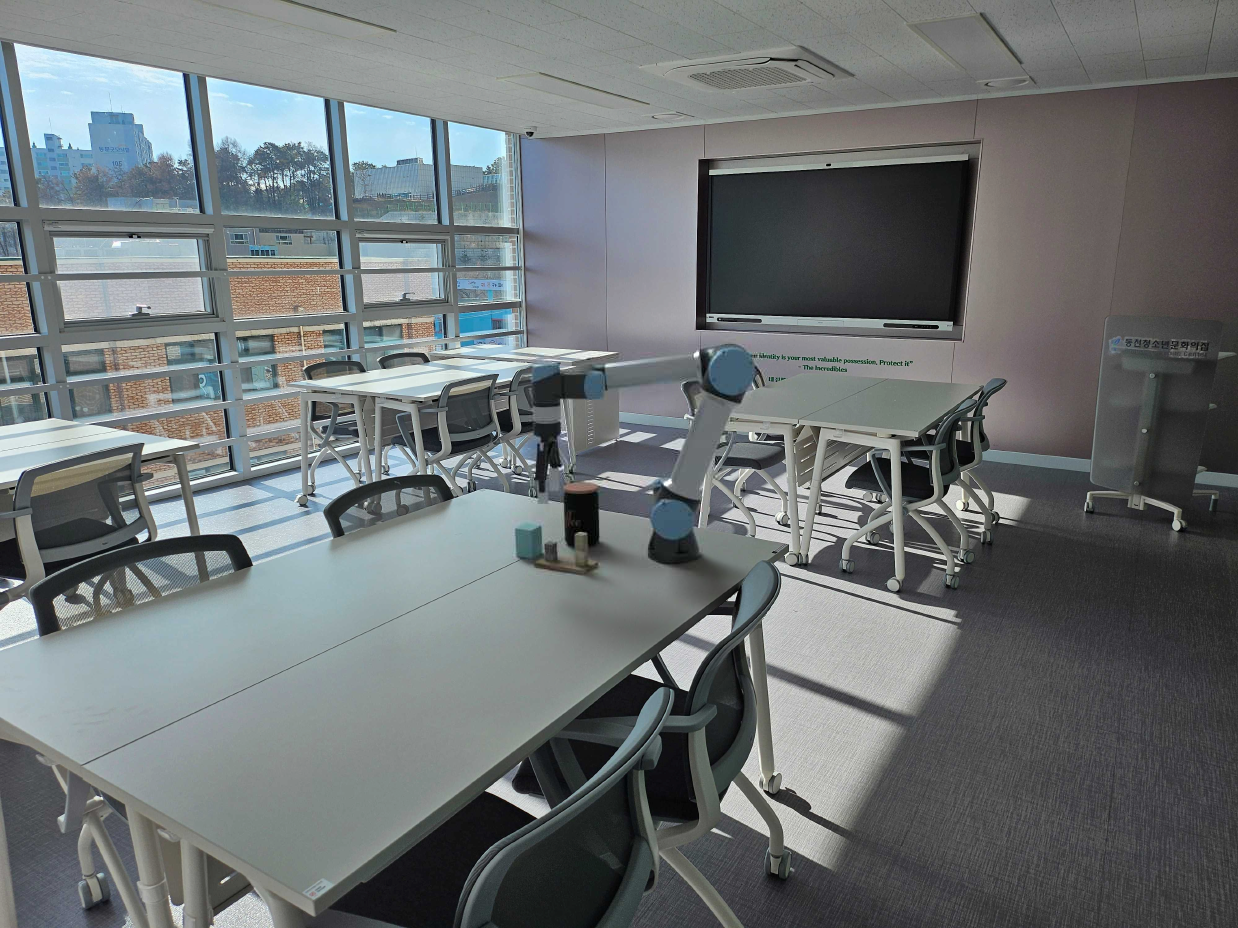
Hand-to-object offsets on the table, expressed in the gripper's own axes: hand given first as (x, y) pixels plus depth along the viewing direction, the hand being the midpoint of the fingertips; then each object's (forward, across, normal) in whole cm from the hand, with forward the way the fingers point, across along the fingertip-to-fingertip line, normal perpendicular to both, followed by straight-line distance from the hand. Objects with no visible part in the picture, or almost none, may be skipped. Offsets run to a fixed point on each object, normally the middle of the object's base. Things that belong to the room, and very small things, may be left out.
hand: (548, 497), depth 229 cm
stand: (+21, -3, +4) cm, 22 cm away
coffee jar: (+21, -24, +4) cm, 33 cm away
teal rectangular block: (+21, -12, -9) cm, 26 cm away
